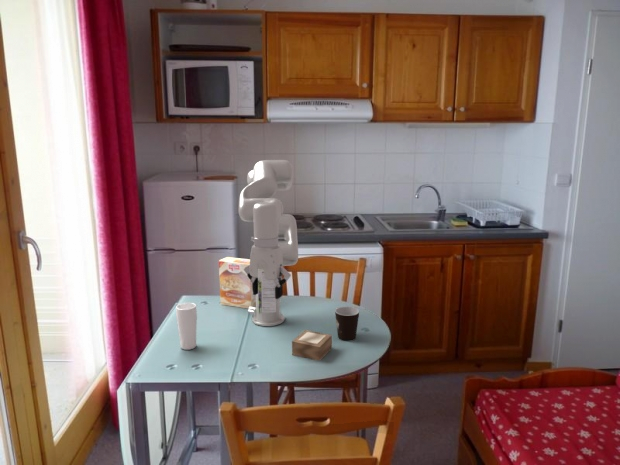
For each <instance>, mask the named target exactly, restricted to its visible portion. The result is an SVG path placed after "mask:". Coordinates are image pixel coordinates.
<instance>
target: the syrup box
mask: <svg viewBox="0 0 620 465" xmlns="http://www.w3.org/2000/svg"><path fill="white" fill-rule="evenodd" d="M264 270H265V269H258V306H259V313H273V312H276V298H275V287H276V283H275V281H274V280H268V279H265V274H264V272H265V271H264Z"/></svg>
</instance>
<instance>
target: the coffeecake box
mask: <svg viewBox="0 0 620 465" xmlns="http://www.w3.org/2000/svg"><path fill="white" fill-rule="evenodd" d="M249 265H250V258H249V259H248V258H242V257H241V258H239V257H232V256H226V257H224V258H221V259H219V260H218V275H219V293H220V294H219V296H220V305H221V306H222V305H223V306H230V307H237V308H244V309H248V310H249V307H250V306H252V307H256V295H253V290H252V283H251V280H250V279H249V278H248V276H247V274H246V272H245V271H244V268H246V267H247V266H249Z"/></svg>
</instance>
